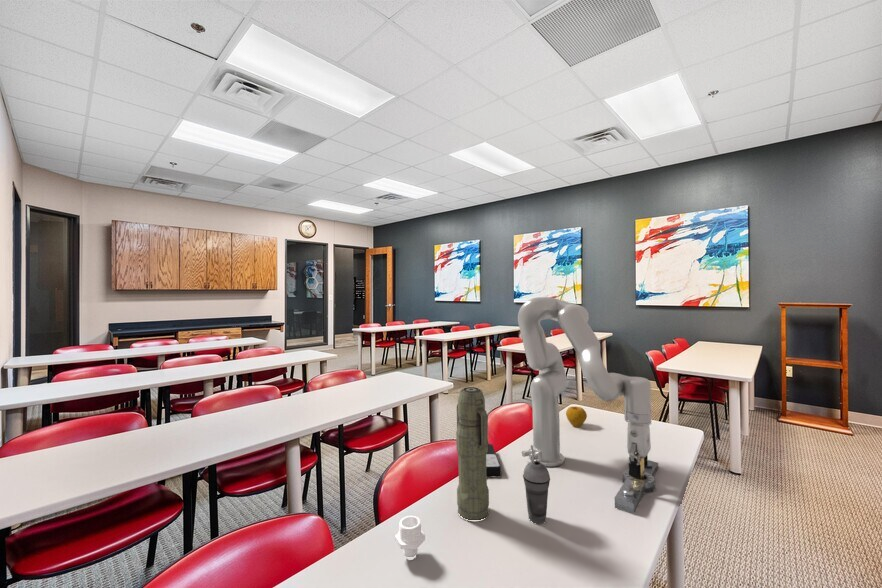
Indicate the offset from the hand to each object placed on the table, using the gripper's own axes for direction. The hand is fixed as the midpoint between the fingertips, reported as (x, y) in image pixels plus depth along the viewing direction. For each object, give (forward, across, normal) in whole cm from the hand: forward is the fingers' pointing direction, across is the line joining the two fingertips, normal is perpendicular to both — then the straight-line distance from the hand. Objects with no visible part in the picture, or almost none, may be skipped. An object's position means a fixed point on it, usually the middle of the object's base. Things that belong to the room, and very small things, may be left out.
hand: (638, 470), depth 116 cm
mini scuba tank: (+5, -36, +17) cm, 40 cm away
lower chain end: (+5, +7, 0) cm, 8 cm away
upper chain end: (+5, -7, 0) cm, 8 cm away
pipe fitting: (+5, -68, +34) cm, 76 cm away
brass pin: (+5, 0, 0) cm, 5 cm away
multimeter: (+6, -19, +48) cm, 52 cm away
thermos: (+5, -45, +33) cm, 56 cm away
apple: (+5, +39, +34) cm, 52 cm away
